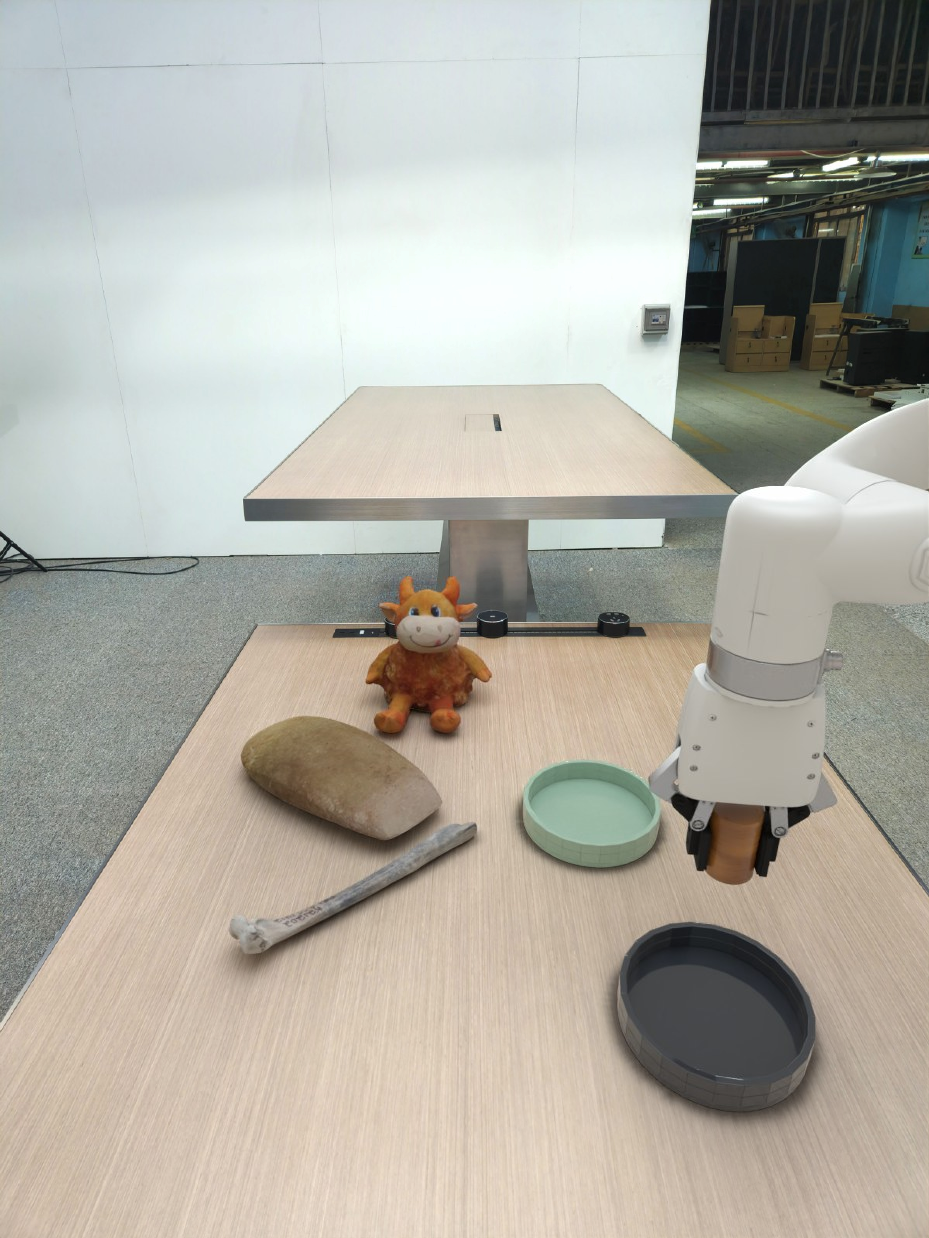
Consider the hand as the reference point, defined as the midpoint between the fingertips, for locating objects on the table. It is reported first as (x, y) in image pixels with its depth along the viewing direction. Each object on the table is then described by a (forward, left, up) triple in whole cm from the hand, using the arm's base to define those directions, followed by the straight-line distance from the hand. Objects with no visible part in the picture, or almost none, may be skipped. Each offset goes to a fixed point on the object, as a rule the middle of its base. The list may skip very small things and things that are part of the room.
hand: (728, 860), depth 61 cm
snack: (0, 0, -1) cm, 1 cm away
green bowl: (+21, -16, -17) cm, 31 cm away
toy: (+55, -25, -17) cm, 63 cm away
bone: (+34, +9, -17) cm, 39 cm away
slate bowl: (-1, +1, -17) cm, 17 cm away
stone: (+50, -1, -17) cm, 53 cm away
